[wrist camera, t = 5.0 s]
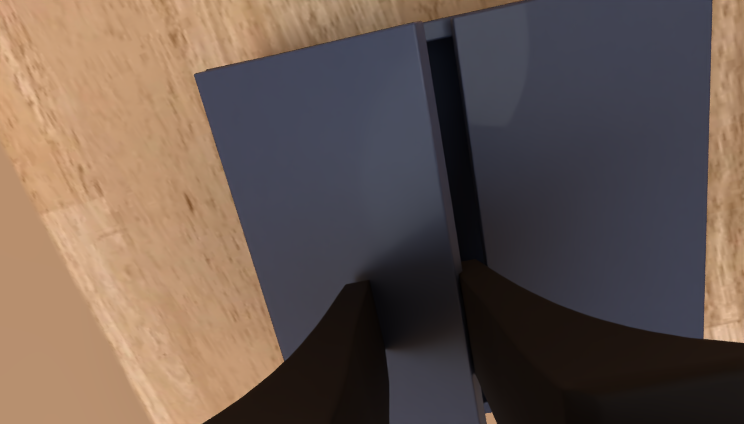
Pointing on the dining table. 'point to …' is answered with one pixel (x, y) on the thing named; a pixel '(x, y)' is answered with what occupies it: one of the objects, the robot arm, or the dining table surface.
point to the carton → (582, 151)
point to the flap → (352, 204)
